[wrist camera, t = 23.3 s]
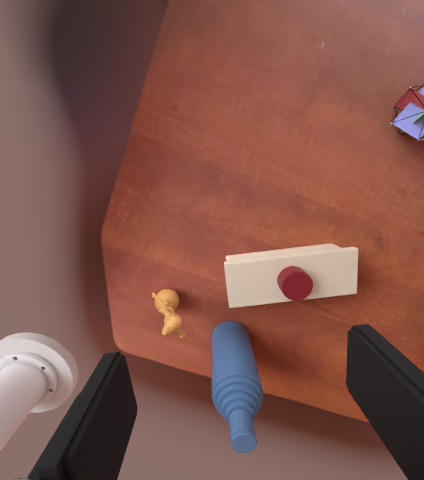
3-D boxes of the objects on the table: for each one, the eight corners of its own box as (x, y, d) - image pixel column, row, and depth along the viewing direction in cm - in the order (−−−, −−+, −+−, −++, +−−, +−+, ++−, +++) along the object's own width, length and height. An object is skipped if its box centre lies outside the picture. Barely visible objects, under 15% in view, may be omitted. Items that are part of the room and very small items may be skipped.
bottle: (225, 359, 44) (235, 475, 27) (203, 333, 43) (199, 438, 25) (256, 341, 43) (287, 449, 26) (235, 314, 42) (253, 409, 25)
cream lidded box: (226, 289, 41) (229, 308, 35) (222, 251, 39) (224, 264, 33) (335, 276, 40) (357, 293, 34) (335, 238, 39) (358, 248, 33)
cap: (271, 286, 34) (276, 293, 32) (286, 261, 33) (291, 267, 31) (297, 297, 34) (303, 305, 32) (311, 272, 33) (319, 279, 31)
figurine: (146, 281, 40) (120, 322, 29) (175, 265, 40) (161, 300, 28) (171, 318, 42) (157, 370, 30) (200, 303, 41) (197, 351, 30)
